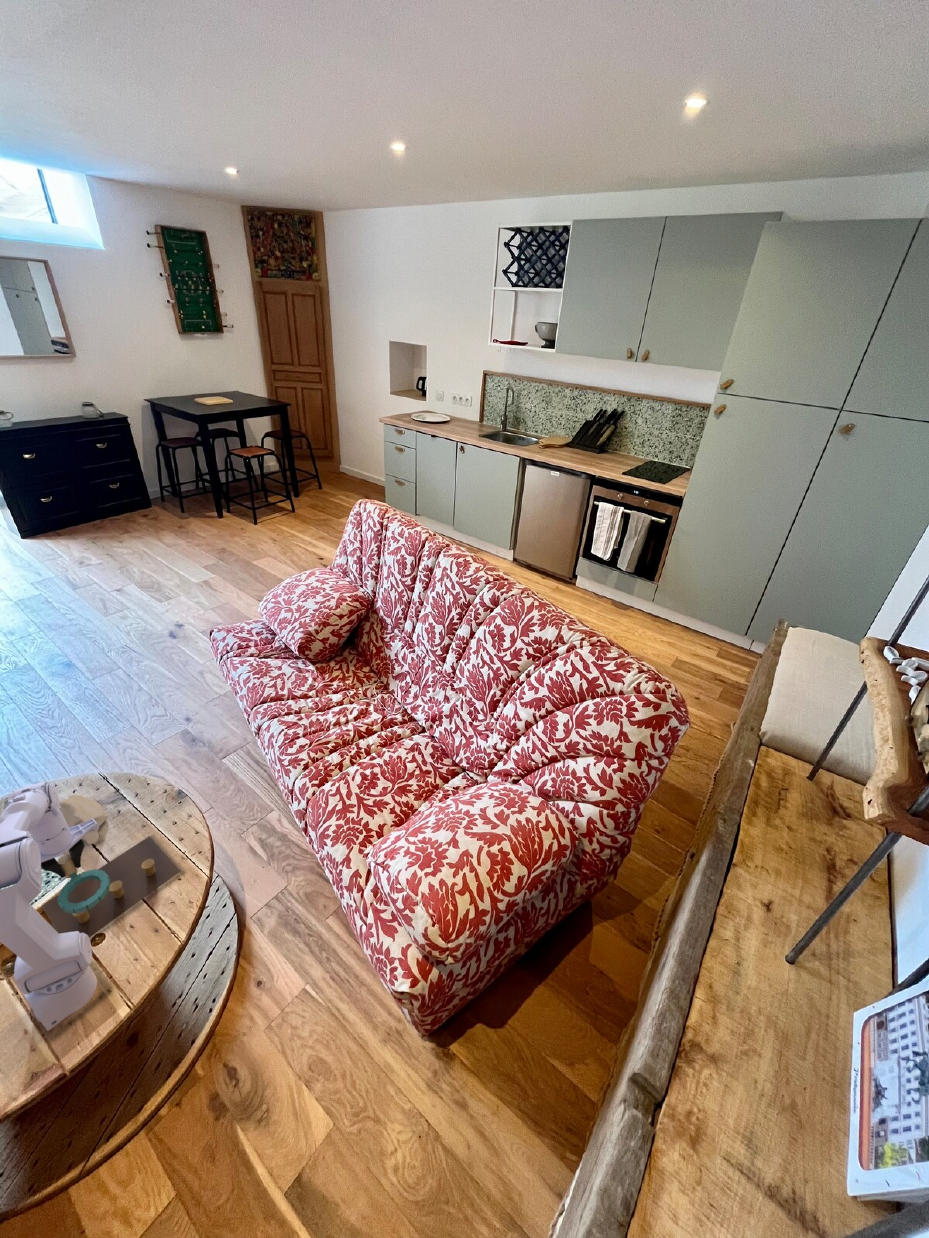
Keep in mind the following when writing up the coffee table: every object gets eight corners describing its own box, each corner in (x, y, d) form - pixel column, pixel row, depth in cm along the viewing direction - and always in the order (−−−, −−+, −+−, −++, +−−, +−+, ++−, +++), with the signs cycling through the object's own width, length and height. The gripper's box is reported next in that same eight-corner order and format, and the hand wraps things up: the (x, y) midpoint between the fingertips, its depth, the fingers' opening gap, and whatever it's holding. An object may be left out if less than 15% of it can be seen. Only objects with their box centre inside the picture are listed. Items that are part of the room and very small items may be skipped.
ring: (70, 922, 102) (63, 908, 100) (45, 884, 108) (37, 870, 106) (117, 889, 109) (111, 875, 106) (91, 855, 115) (84, 841, 112)
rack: (71, 953, 104) (65, 942, 102) (42, 908, 111) (36, 897, 109) (181, 873, 121) (178, 862, 119) (150, 838, 128) (146, 827, 126)
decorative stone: (81, 852, 123) (71, 831, 119) (60, 819, 131) (49, 797, 126) (118, 831, 129) (110, 809, 125) (96, 800, 136) (87, 779, 132)
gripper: (80, 797, 111) (98, 837, 117) (-2, 842, 100) (22, 883, 107) (95, 814, 107) (112, 854, 114) (11, 863, 97) (35, 903, 104)
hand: (69, 869), depth 110 cm, fingers closed on ring, 2 cm apart
